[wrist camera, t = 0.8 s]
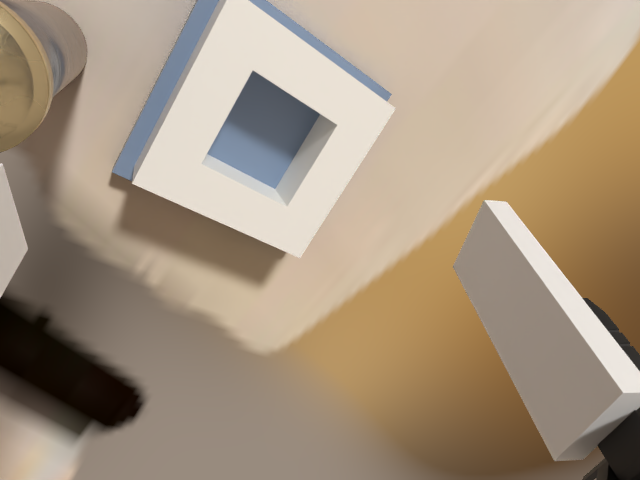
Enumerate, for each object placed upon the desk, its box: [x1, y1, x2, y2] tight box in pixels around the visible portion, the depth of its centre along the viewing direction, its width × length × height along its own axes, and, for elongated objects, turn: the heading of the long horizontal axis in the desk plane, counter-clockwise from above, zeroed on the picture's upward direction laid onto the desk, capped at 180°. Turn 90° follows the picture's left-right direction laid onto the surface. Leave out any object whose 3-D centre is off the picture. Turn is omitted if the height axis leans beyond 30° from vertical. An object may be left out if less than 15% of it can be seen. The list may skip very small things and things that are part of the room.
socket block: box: [112, 0, 396, 258], centre depth 30 cm, size 14×14×4 cm
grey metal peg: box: [0, 0, 87, 152], centre depth 20 cm, size 5×5×14 cm
